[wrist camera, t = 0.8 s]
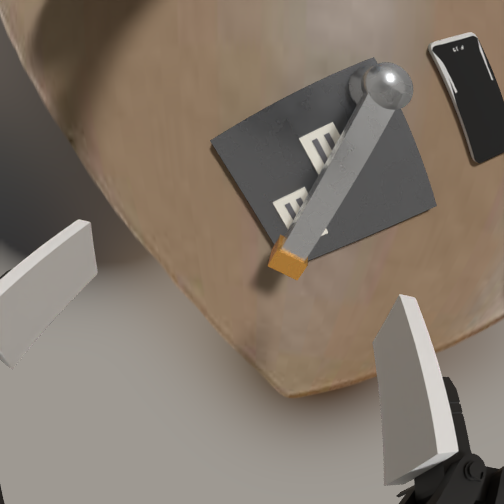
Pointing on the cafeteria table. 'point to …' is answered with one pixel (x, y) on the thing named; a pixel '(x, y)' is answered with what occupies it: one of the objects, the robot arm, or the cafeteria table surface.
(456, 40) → the smartphone
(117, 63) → the cafeteria table surface
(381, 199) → the board
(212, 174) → the cafeteria table surface
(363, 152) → the swing arm
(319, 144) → the label
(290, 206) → the label
